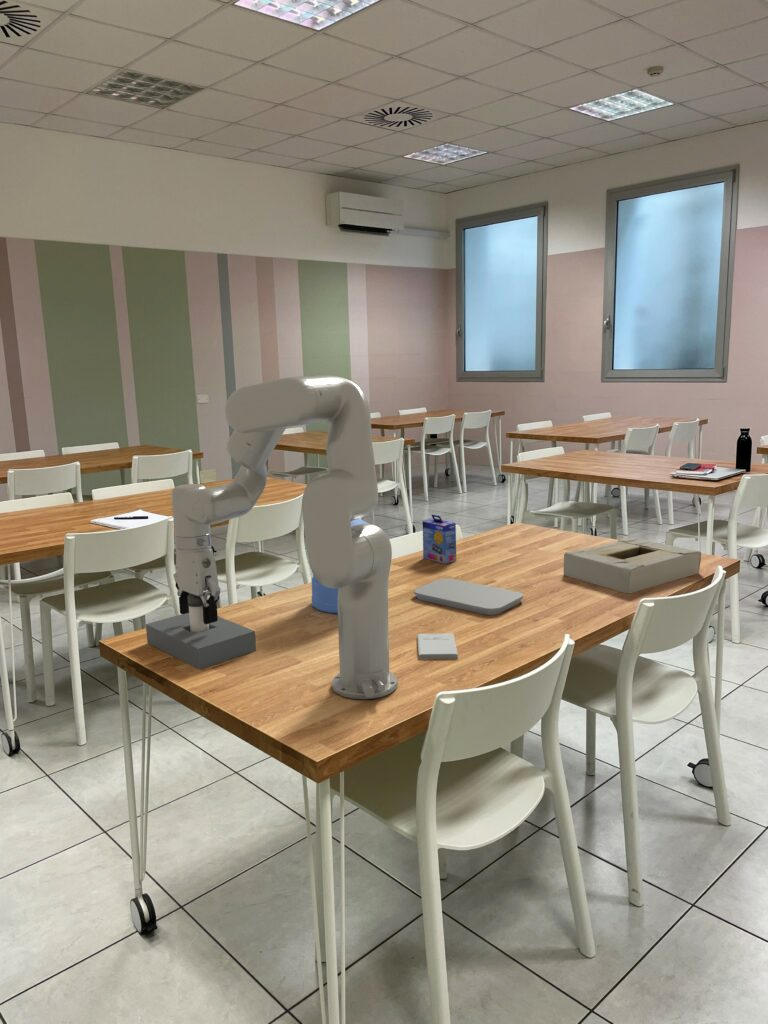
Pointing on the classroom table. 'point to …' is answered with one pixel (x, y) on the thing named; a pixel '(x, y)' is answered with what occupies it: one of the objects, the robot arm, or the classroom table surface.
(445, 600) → the tablet
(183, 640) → the socket block
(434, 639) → the external hard drive
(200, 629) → the peg
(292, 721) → the classroom table surface
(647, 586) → the box
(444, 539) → the ink cartridge box
